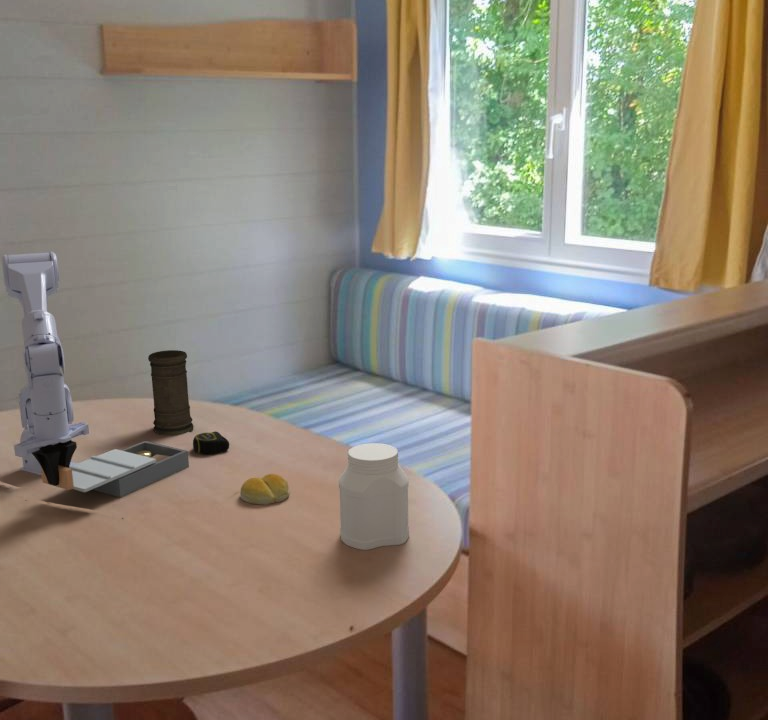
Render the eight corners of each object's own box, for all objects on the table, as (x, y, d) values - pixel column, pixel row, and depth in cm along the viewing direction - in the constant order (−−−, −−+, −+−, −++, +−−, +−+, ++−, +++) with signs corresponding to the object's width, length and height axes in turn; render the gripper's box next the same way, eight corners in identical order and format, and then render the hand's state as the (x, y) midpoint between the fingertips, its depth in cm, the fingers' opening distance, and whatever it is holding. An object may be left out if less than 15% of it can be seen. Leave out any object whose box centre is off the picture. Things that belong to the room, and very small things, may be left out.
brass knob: (132, 466, 189) (131, 454, 188) (144, 461, 191) (143, 449, 191) (143, 469, 187) (142, 457, 187) (155, 464, 190) (154, 452, 189)
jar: (349, 553, 151) (346, 465, 147) (334, 529, 160) (331, 446, 156) (416, 542, 154) (415, 456, 151) (398, 519, 163) (397, 438, 159)
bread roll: (235, 494, 176) (234, 474, 175) (281, 485, 180) (280, 466, 179) (248, 510, 169) (247, 489, 168) (295, 501, 172) (294, 480, 172)
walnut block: (145, 472, 185) (144, 461, 185) (157, 466, 189) (156, 454, 188) (162, 475, 184) (161, 463, 183) (174, 468, 187) (173, 456, 187)
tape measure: (230, 454, 197) (229, 437, 196) (199, 460, 194) (198, 443, 193) (220, 445, 203) (219, 428, 202) (189, 450, 200) (188, 434, 199)
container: (184, 438, 207) (178, 359, 202) (146, 436, 208) (139, 358, 204) (200, 425, 215) (194, 349, 211) (163, 423, 217) (157, 348, 212)
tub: (77, 487, 180) (75, 468, 179) (146, 459, 195) (145, 440, 194) (121, 500, 174) (119, 480, 173) (189, 469, 188) (187, 450, 187)
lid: (35, 483, 171) (32, 461, 170) (115, 451, 187) (113, 431, 186) (77, 495, 165) (74, 473, 164) (156, 461, 181) (154, 441, 180)
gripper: (29, 425, 157) (38, 500, 160) (97, 403, 169) (104, 473, 172) (3, 419, 160) (12, 492, 164) (71, 397, 172) (78, 466, 176)
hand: (57, 482), depth 168 cm, fingers closed on lid
